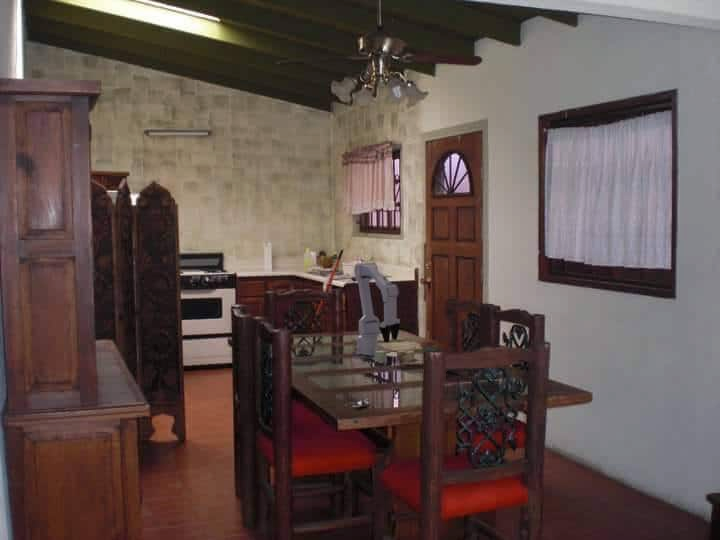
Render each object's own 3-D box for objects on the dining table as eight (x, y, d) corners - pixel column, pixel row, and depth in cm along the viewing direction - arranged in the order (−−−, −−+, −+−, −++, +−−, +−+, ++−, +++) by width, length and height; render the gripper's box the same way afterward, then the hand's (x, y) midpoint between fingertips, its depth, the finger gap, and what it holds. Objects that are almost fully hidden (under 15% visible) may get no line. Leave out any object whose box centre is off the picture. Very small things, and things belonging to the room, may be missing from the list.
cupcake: (436, 356, 369) (436, 331, 368) (418, 355, 371) (418, 330, 370) (438, 352, 378) (438, 328, 377) (421, 352, 379) (421, 327, 378)
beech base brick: (396, 360, 362) (396, 351, 362) (402, 358, 367) (402, 349, 367) (408, 361, 359) (408, 352, 358) (414, 359, 364) (414, 350, 364)
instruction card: (375, 355, 373) (375, 354, 373) (382, 351, 382) (382, 351, 382) (399, 356, 369) (399, 356, 369) (405, 353, 377) (405, 352, 377)
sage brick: (374, 362, 357) (374, 351, 356) (379, 361, 360) (378, 350, 360) (382, 363, 355) (382, 352, 354) (386, 361, 358) (386, 351, 358)
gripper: (390, 314, 348) (390, 344, 349) (405, 310, 361) (405, 339, 362) (376, 313, 352) (376, 342, 353) (391, 309, 364) (392, 337, 365)
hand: (390, 340), depth 358 cm, fingers open, 7 cm apart
